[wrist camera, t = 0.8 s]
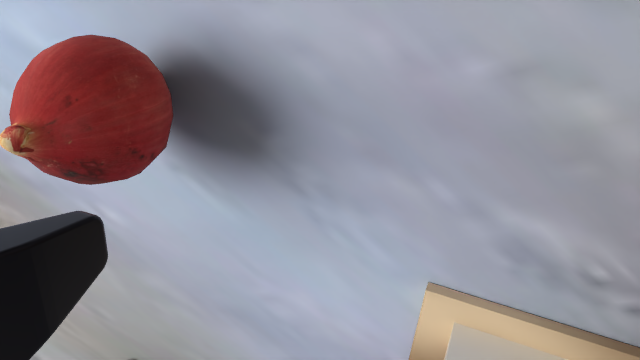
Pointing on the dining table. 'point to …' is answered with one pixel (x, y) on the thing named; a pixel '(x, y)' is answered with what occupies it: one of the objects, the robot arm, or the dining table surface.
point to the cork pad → (505, 329)
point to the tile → (489, 347)
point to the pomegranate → (90, 111)
